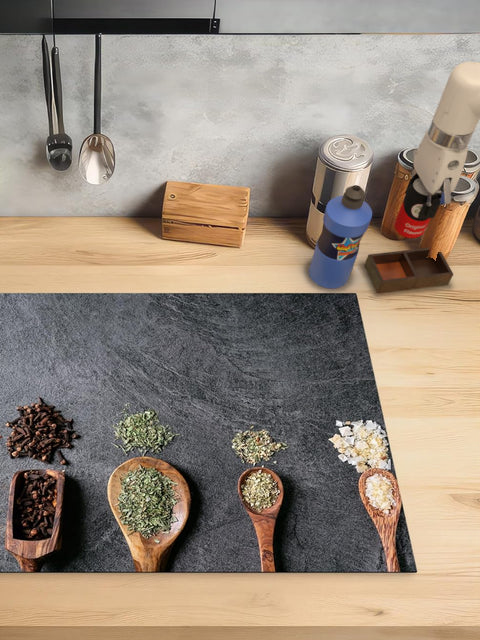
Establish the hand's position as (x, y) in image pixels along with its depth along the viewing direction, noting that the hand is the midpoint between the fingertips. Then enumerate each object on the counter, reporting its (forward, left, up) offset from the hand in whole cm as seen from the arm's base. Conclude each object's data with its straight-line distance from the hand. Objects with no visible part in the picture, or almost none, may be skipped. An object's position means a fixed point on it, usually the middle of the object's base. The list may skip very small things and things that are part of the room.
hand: (419, 205), depth 148 cm
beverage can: (0, 0, -7) cm, 7 cm away
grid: (-4, 0, -22) cm, 22 cm away
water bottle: (+13, -3, -22) cm, 25 cm away
